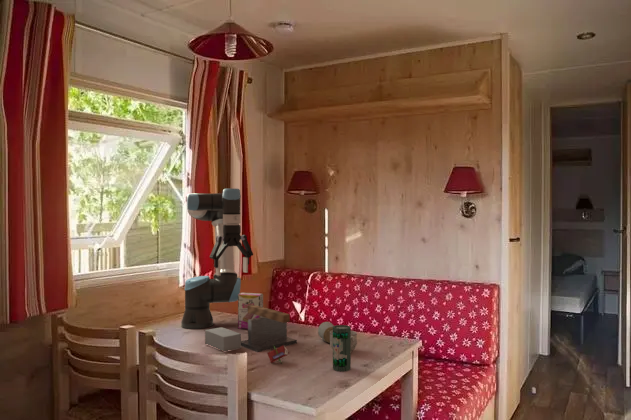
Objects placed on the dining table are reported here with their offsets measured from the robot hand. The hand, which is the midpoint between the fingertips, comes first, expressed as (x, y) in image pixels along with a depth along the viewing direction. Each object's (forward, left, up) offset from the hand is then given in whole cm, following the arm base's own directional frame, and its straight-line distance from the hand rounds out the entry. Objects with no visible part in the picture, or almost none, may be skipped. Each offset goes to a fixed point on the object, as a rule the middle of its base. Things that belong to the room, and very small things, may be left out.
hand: (232, 273), depth 229 cm
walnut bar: (+15, +8, -17) cm, 24 cm away
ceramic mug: (+29, +32, -29) cm, 52 cm away
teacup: (+45, +24, -29) cm, 59 cm away
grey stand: (+6, -8, -29) cm, 30 cm away
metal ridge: (+15, +8, -29) cm, 33 cm away
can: (+59, +9, -29) cm, 66 cm away
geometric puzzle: (+38, -4, -29) cm, 48 cm away
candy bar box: (-13, +18, -29) cm, 36 cm away
